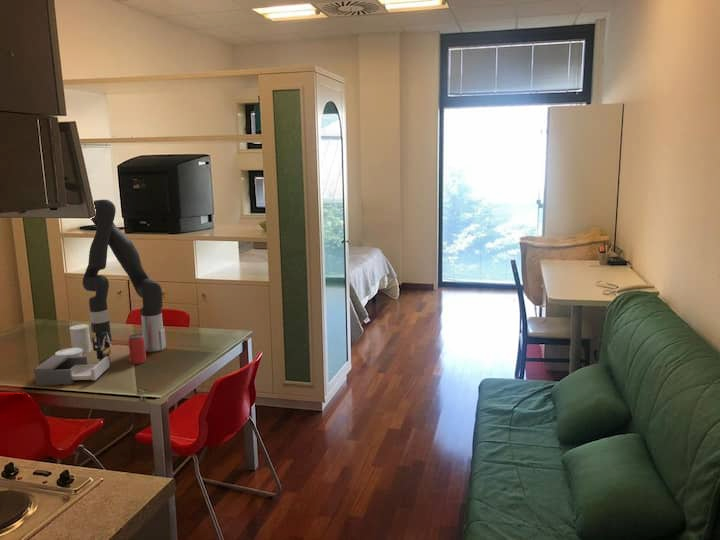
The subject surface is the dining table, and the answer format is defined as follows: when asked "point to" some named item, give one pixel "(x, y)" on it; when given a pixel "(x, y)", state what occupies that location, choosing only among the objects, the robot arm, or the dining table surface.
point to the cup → (80, 337)
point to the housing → (57, 370)
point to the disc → (105, 351)
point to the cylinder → (105, 356)
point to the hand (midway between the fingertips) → (104, 355)
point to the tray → (89, 370)
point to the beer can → (137, 349)
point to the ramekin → (70, 352)
